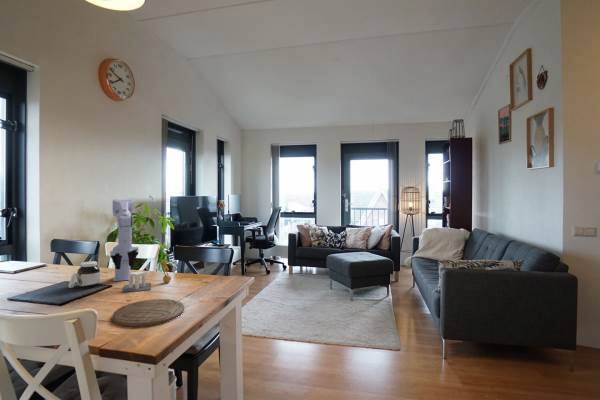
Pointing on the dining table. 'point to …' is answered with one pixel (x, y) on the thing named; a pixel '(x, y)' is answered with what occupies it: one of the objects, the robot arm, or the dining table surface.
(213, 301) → the dining table surface
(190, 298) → the dining table surface
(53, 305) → the dining table surface
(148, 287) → the mat
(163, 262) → the figurine
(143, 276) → the stool
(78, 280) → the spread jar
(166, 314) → the trivet
